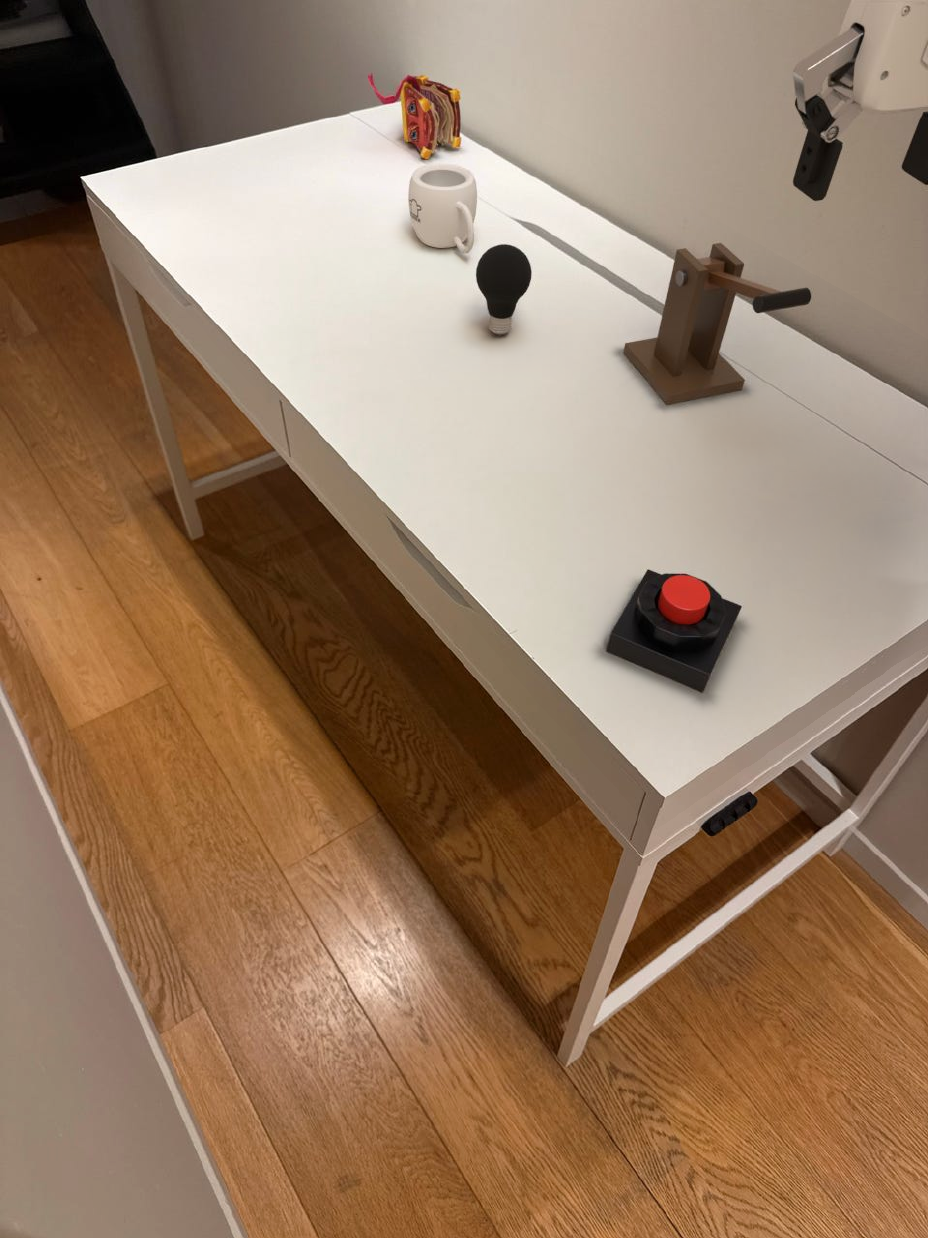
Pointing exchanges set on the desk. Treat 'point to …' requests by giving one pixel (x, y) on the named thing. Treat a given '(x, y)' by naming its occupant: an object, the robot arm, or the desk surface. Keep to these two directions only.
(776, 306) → the lever
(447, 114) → the book monster
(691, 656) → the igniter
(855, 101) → the robot arm
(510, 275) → the light bulb
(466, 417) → the desk surface
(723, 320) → the bracket
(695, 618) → the button
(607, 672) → the desk surface
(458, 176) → the mug
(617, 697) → the desk surface
